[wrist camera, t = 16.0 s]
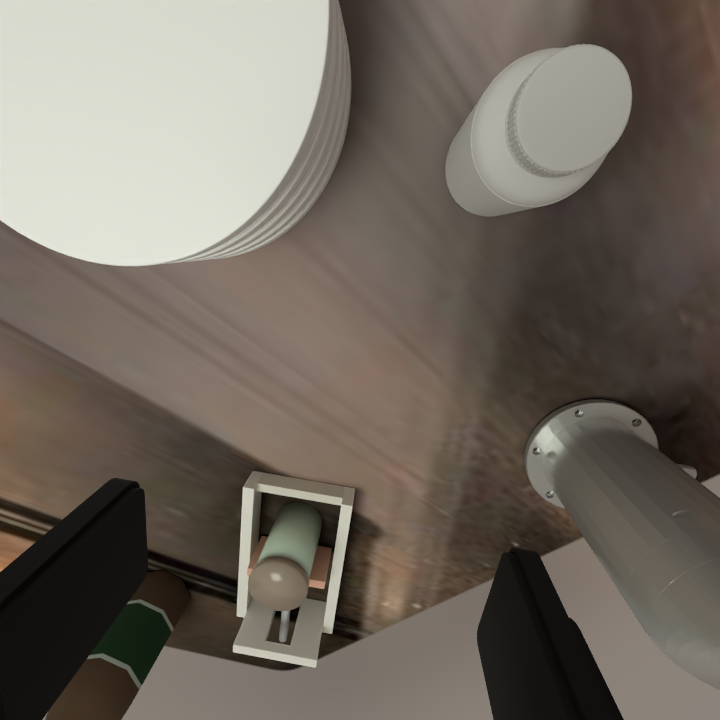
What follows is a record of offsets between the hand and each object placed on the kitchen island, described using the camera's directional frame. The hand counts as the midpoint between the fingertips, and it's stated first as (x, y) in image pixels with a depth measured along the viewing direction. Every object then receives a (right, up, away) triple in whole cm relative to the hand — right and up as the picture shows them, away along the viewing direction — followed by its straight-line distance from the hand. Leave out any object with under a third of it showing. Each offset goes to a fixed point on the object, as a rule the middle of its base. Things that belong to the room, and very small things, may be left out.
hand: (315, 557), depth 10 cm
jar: (-6, -14, +35) cm, 38 cm away
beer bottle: (-25, -26, +40) cm, 54 cm away
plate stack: (-14, +28, +22) cm, 39 cm away
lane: (-7, -17, +36) cm, 40 cm away
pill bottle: (+12, +21, +22) cm, 33 cm away
